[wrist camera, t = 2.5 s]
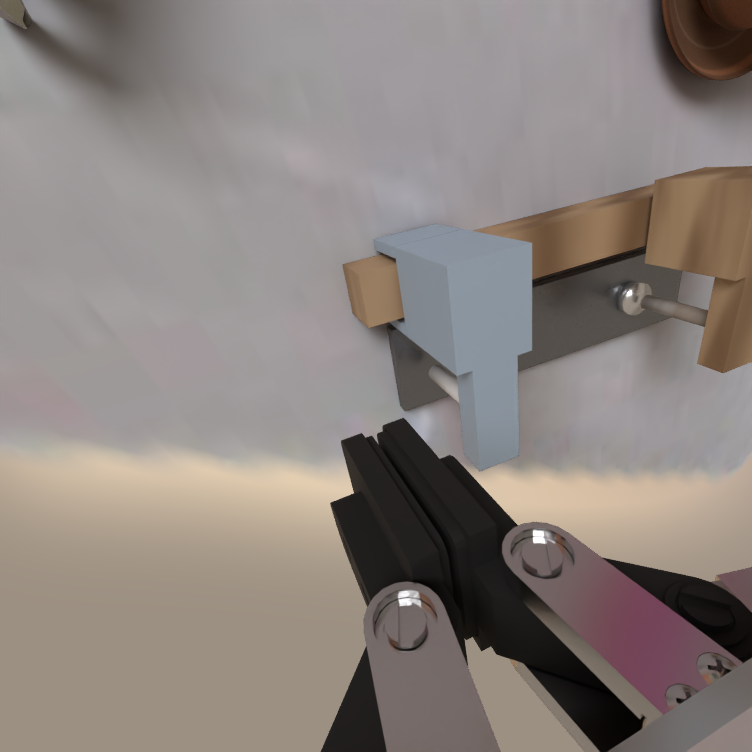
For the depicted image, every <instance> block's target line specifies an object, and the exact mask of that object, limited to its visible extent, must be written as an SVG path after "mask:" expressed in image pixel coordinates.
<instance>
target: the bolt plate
mask: <svg viewBox="0 0 752 752" xmlns="http://www.w3.org/2000/svg"><path fill="white" fill-rule="evenodd" d="M645 257H646V249H645V250H642V251H638V252H635V253H632V254H628V255H625V256H622V257H618V258H615V259H612V260H608V261H605V262H602V263H598V264H595V265H592V266H588V267H585V268H582V269H578V270H575V271H572V272H568V273H565V274H562V275H558V276H555V277H552V278H548V279H545V280H542V281H538V282H535V283H532V351H529V352H526V353H523V354H520V355H518V371H520V370H523V369H526V368H529V367H532V366H534V365H537V364H540V363H543V362H546V361H549V360H552V359H554V358H557V357H560V356H563V355H566V354H569V353H571V352H574V351H577V350H580V349H583V348H586V347H588V346H591V345H594V344H597V343H600V342H603V341H606V340H608V339H611V338H614V337H617V336H620V335H623V334H625V333H628V332H631V331H634V330H637V329H640V328H642V327H645V326H648V325H651V324H654V323H657V322H660V321H662V320H665V319H668V318H671V317H670V316H667V315H663V314H660V313H657V312H653V311H650V310H647V309H643V308H641V306H640V303H641V300H642V298H643V297H644V296H646V295H651V296H655V297H659V298H662V299H666V300H670V301H674V302H677V298H678V292H679V286H680V280H681V274H682V270H677V269H672V268H666V267H661V266H656V265H651V264H646V263H645ZM387 330H388V336H389V342H390V348H391V354H392V360H393V365H394V371H395V377H396V383H397V389H398V395H399V401H400V406H401V407H402V408H403V409H404V411H407V410H409V409H412V408H415V407H418V406H421V405H424V404H426V403H429V402H432V401H435V400H438V399H441V398H444V397H446V396H449V394H448V393H447V392H446V391H445V390H443V389H442V388H441V387H440V386H439V385H438V384H437V383H436V382H434V381H433V380H432V379H431V378H430V377H429V370H430V368H431V367H432V366H434V365H440V366H442V367H443V368H444V369H445V370H446V371H448V372H449V373H450V374H451V375H453V376H454V377H455V378H456V379H457V376H456V375H455V374H454V373H452V372H451V371H450V370H449V369H447V368H446V367H445V366H444V365H442V364H441V363H440V362H438V361H437V360H436V359H435V358H433V357H432V356H431V355H430V354H428V353H427V352H426V351H425V350H423V349H422V348H421V347H420V346H418V345H417V344H416V343H415V342H413V341H412V340H411V339H409V338H408V337H407V336H406V335H404V334H403V333H402V332H401V331H399V330H398V329H397V328H396V327H394V326H393V325H392V326H388V327H387Z"/></svg>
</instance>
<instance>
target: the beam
mask: <svg viewBox="0 0 752 752" xmlns="http://www.w3.org/2000/svg"><path fill="white" fill-rule="evenodd" d="M474 231H475V232H480V233H485V234H490V235H495V236H500V237H505V238H510V239H515V240H520V241H525V242H530V243H532V279H535V278H539V277H542V276H545V275H549V274H552V273H555V272H559V271H562V270H565V269H569V268H572V267H575V266H579V265H582V264H586V263H589V262H592V261H596V260H599V259H602V258H606V257H609V256H612V255H616V254H619V253H623V252H626V251H629V250H633V249H636V248H639V247H643V246H646V245H647V249H646V257H645V263H646V264H651V265H656V266H661V267H666V268H672V269H677V270H682V271H687V272H692V273H697V274H703V275H708V276H713V277H715V281H714V285H713V290H712V295H711V300H710V305H709V310H704V309H700V308H697V307H693V306H689V305H685V304H681V303H678V302H674V301H670V300H666V299H662V298H659V297H655V296H651V295H646V296H644V297H643V298H642V300H641V303H640V306H641V308H643V309H647V310H650V311H653V312H657V313H660V314H663V315H667V316H670V317H674V318H677V319H680V320H684V321H687V322H690V323H694V324H697V325H700V326H704V327H705V329H704V334H703V338H702V343H701V348H700V353H699V358H698V363H697V364H700V365H702V366H705V367H708V368H710V369H713V370H716V371H718V372H721V373H725V372H727V371H730V370H732V369H735V368H737V367H740V366H742V365H745V364H747V363H750V362H752V166H743V167H705V168H701V169H697V170H693V171H689V172H685V173H682V174H678V175H674V176H670V177H666V178H662V179H658V180H655V184H653V185H649V186H645V187H641V188H637V189H634V190H630V191H626V192H622V193H618V194H614V195H610V196H606V197H602V198H599V199H595V200H591V201H587V202H583V203H579V204H575V205H571V206H568V207H564V208H560V209H556V210H552V211H548V212H544V213H540V214H537V215H533V216H529V217H525V218H521V219H517V220H513V221H509V222H506V223H502V224H498V225H494V226H490V227H486V228H482V229H478V230H474ZM343 269H344V273H345V278H346V283H347V288H348V293H349V298H350V302H351V307H352V312H353V314H354V315H355V316H356V317H357V318H358V319H359V320H361V321H362V322H363V323H364V324H365V325H366V326H367V327H368V328H371V327H374V326H377V325H381V324H384V323H387V322H391V321H394V320H397V319H401V318H404V312H403V305H402V298H401V291H400V285H399V278H398V271H397V264H396V258H393V257H391V256H388V255H386V254H381V255H377V256H374V257H370V258H366V259H362V260H358V261H354V262H350V263H346V264H343Z"/></svg>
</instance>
